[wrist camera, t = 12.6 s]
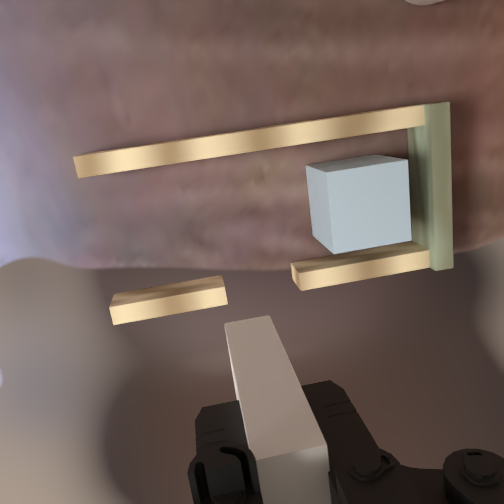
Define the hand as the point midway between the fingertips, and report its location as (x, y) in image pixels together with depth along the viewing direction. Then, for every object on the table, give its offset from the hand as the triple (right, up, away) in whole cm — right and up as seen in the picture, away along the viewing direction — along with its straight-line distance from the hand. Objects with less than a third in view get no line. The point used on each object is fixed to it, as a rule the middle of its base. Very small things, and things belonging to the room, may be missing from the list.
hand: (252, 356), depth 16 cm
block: (+8, +8, +24) cm, 27 cm away
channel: (+1, +7, +24) cm, 25 cm away
